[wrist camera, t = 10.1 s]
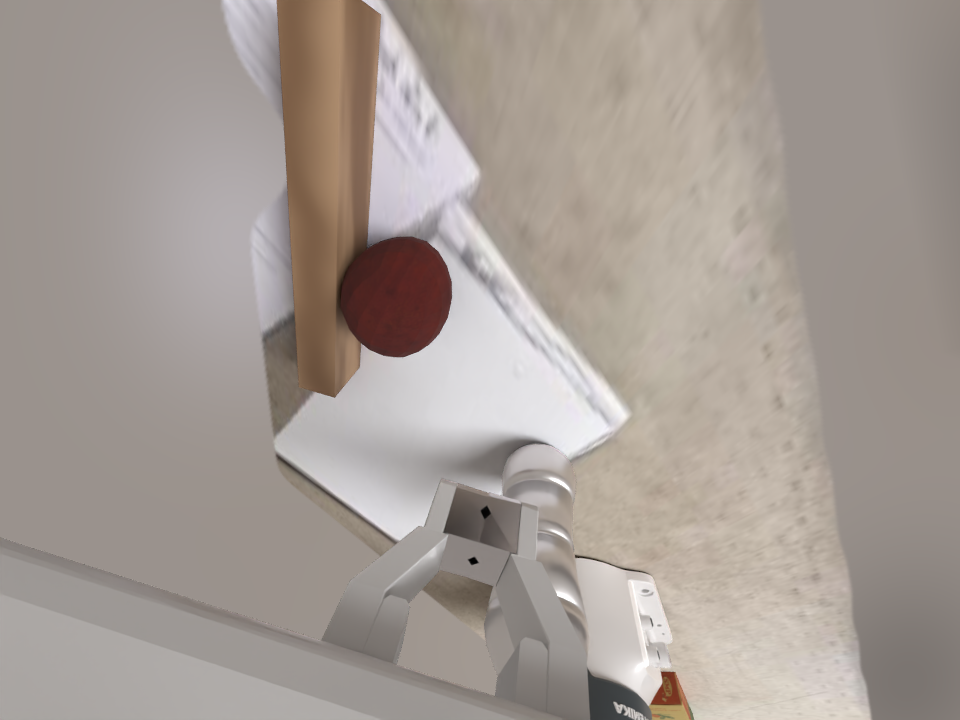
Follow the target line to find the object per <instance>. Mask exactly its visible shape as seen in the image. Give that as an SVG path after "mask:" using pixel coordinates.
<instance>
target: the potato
mask: <svg viewBox="0 0 960 720" xmlns="http://www.w3.org/2000/svg"><path fill="white" fill-rule="evenodd" d="M451 300H452V282H451V278H450V275H449V271H448V268H447V265H446V264H445V262H444V260H443V259H442V257H441V255H440V254H439V252H438V251H437V250H436V249H435V248H433V247H432V246H431V245H430V244H429V243H428V242H427V241H424V240H421V239H417V238H414V237H396V238H392V239H388V240H384V241H381V242H379V243H377V244H375V245H373V246H371V247H369V248H367V249H366V250H365V251H364V252H363V253H362V254H361V255H360V256H359V257H358V258H357V259H356V260H355V261H354V262H353V263H352V264H351V265H350V266H349V268H348V270H347V272H346V274H345V276H344V279H343V284H342V291H341V304H340V307H341V310H342V312H343V315H344V317H345V320H346V323H347V325H348V328H349V330H350V331H351V332H352V334H353V335H354V336H355V338H356V339H357V340H358V341H359V342H361V343H362V344H363V345H364V346H366V347H367V348H368V349H369V350H371V351H374V352H376V353H378V354H381V355H383V356H390V357H405V356H408V355H411V354H414V353H416V352H419V351H420V350H422V349H423V348H425V347H426V346H428V345H429V344H430V343H431V342H432V341H433V340H434V339H435V338H436V337H437V336H438V335H439V333H440V331H441V329H442V327H443V326H444V324H445V322H446V320H447V318H448V314H449V310H450V305H451Z"/></svg>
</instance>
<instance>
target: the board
mask: <svg viewBox="0 0 960 720" xmlns="http://www.w3.org/2000/svg"><path fill="white" fill-rule="evenodd" d="M277 14H278V31H279V49H280V66H281V84H282V101H283V119H284V135H285V152H286V153H285V154H286V171H287V189H288V206H289V224H290V241H291V259H292V276H293V294H294V311H295V329H296V346H297V363H298V381H299V387H300V388H304V389H307V390H311V391H314V392H317V393H321V394H324V395H328V396H331V397H334V398H335V397H336V395H337V394H338V393H339V392H340V390H341V389H342V388H343V387H344V386H345V384H346V383H347V382H348V381H349V380H350V378H351V377H352V376H353V375H354V374H355V372H356V371H357V370H358V369H359V367H360V351H361V342H359V341H358V340H357V339H356V338H355V336H354V335H353V334H352V332H351V331H350V330H349V328H348V325H347V323H346V320H345V317H344V315H343V312H342V310H341V307H340V304H341V291H342V284H343V279H344V276H345V274H346V272H347V270H348V268H349V266H350V265H351V264H352V263H353V262H354V261H355V260H356V259H357V258H358V257H359V256H360V255H361V254H362V253H363V252H364V251H365V250H366V249H367V236H368V220H369V203H370V187H371V171H372V154H373V138H374V121H375V105H376V88H377V72H378V55H379V39H380V23H381V14H379V13H378V12H377V11H375V10H374V9H373V8H371V7H370V6H369V5H367V4H366V3H365V2H363V1H362V0H277Z"/></svg>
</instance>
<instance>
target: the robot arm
mask: <svg viewBox="0 0 960 720" xmlns="http://www.w3.org/2000/svg"><path fill="white" fill-rule="evenodd" d="M457 484H458V485H457ZM538 512H539V510H538V507H537V506H535V505H531V504H528V503H524V502H520V501H519V500H515V499H511V498H508V497H504V496H501V495H497V494H493V493H490V492H489V493H487V492H484V491H481V490H478V489H475V488H471V487H468V486H465V485H462V484H459V483H456V482H452V481H449V480H446V479H441V481H440V483H439V485H438V488H437V491H436V494H435V497H434V500H433V503H432V505H431V508H430V511H429V514H428V517H427V520H426V523H425V525H424V527H422V526H418V527H417V528H416V529H414V530H413V531H412V532H411V533H409V534H408V535H407V536H406V537H404V538H403V539H402V540H401V541H399V542H398V543H397V544H395V545H394V546H393V547H392V548H390V549H389V550H388V551H387V552H385V553H384V554H383V555H382V556H380V557H379V558H378V559H376V560H375V561H374V562H373V563H372V564H370V565H369V566H368V567H366V568H365V569H364V570H363V571H361V572H360V573H359V574H357V575H356V576H355V577H354V578H353V579H351V580H350V582H349V584H348V586H347V588H346V590H345V592H344V594H343V596H342V598H341V600H340V602H339V605H338V606H337V609H336V611H335V613H334V615H333V617H332V619H331V621H330V623H329V625H328V627H327V629H326V631H325V634H324V636H323V638H322V640H319V639H315V638H312V637H309V636H306V635H303V634H300V633H297V632H294V631H291V630H288V629H284V628H281V627H278V626H275V625H272V624H269V623H266V622H263V621H259V620H256V619H253V618H250V617H247V616H244V615H241V614H238V613H234V612H231V611H228V610H225V609H222V608H219V607H216V606H212V605H209V604H206V603H203V602H200V601H197V600H194V599H190V598H188V597H185V596H181V595H178V594H175V593H172V592H169V591H166V590H163V589H160V588H156V587H153V586H150V585H147V584H144V583H141V582H137V581H134V580H132V579H128V578H125V577H122V576H119V575H116V574H113V573H110V572H107V571H103V570H100V569H97V568H94V567H91V566H87V565H85V564H81V563H78V562H75V561H72V560H69V559H65V558H63V557H59V556H56V555H53V554H50V553H47V552H43V551H40V550H37V549H34V548H31V547H28V546H25V545H22V544H19V543H16V542H13V541H10V540H7V539H4V538H1V537H0V720H652V712H651V710H650V708H649V705H650V704H651V702H652V700H653V698H654V696H655V694H656V693H657V691H658V689H659V688H660V687H661V685H662V676H661V670H660V668H670V667H672V664H671V659H670V655H669V652H668V648H667V645H668V644H670V643H671V642H672V635H671V630H670V627H669V624H668V621H667V618H666V615H665V612H664V609H663V606H662V603H661V600H660V597H659V594H658V591H657V588H656V585H655V582H654V579H653V577H652V576H650V575H648V574H645V573H641V572H634V571H627V570H622V569H619V568H616V567H614V566H611V565H609V564H606V563H603V562H599V561H595V560H590V559H584V558H575V561H576V569H577V577H578V581H579V586H580V590H581V595H582V600H583V604H584V609H585V614H586V619H587V623H588V629H589V636H590V647H589V653H588V659H587V655H586V652H585V650H584V648H583V646H582V644H581V642H580V640H579V638H578V636H577V634H576V632H575V630H574V628H573V626H572V624H571V622H570V620H569V618H568V616H567V614H566V612H565V610H564V608H563V606H562V604H561V602H560V600H559V598H558V596H557V593H556V591H555V589H554V587H553V585H552V583H551V581H550V579H549V577H548V575H547V573H546V571H545V569H544V567H543V565H542V563H541V562H539V561H536V553H537V532H538ZM439 570H442V571H445V572H449V573H453V574H456V575H460V576H464V577H468V578H470V579H473V580H476V581H479V582H482V583H485V584H488V585H491V586H494V587H496V588H495V589H496V593H497V596H498V599H499V602H500V605H501V609H502V612H503V615H504V618H505V622H506V625H507V628H508V631H509V635H510V638H511V641H512V644H513V648H514V652H513V654H512V655H511V657H510V658H509V660H508V661H507V663H506V664H505V666H504V667H503V669H502V671H501V672H500V674H499V675H498V677H497V684H496V692H495V696H493V695H490V694H487V693H484V692H481V691H478V690H475V689H471V688H468V687H465V686H462V685H459V684H456V683H452V682H450V681H447V680H444V679H440V678H437V677H434V676H431V675H428V674H425V673H422V672H419V671H415V670H412V669H409V668H406V667H403V666H400V665H397V662H398V658H399V655H400V652H401V648H402V644H403V639H404V634H405V629H406V624H407V619H408V614H409V609H410V606H409V604H408V603H409V602H410V601H411V600H412V599H413V598H414V597H415V596H416V595H417V594H418V593H419V592H420V591H421V590H422V589H423V588H424V587H425V586H426V585H427V584H428V582H429V581H430V580H431V579H432V578H433V577H434V576H435V575H436V574H437V573H438V572H439Z"/></svg>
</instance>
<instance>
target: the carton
mask: <svg viewBox="0 0 960 720" xmlns="http://www.w3.org/2000/svg"><path fill="white" fill-rule="evenodd" d="M661 676H662V685H661V687H660V688H659V689H658V691H657V693H656V694H655V696H654V698H653V700H652V702H651V704H650V705H649V708H650V710H651V712H652V720H694V718H693V713H692V711H691V709H690V707H689V705H688V702H687V700H686V697H685V695H684V692H683V690H682V688H681V685H680V683H679V680H678V678H677V676H676V672H661Z"/></svg>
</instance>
